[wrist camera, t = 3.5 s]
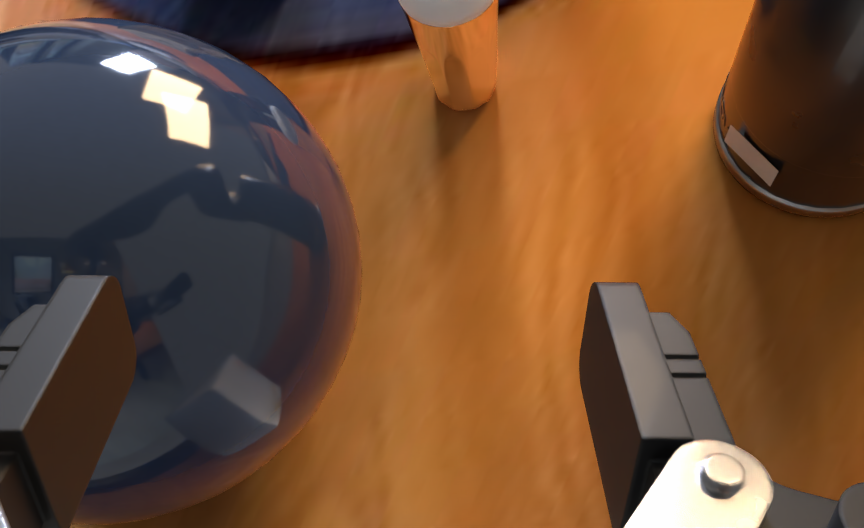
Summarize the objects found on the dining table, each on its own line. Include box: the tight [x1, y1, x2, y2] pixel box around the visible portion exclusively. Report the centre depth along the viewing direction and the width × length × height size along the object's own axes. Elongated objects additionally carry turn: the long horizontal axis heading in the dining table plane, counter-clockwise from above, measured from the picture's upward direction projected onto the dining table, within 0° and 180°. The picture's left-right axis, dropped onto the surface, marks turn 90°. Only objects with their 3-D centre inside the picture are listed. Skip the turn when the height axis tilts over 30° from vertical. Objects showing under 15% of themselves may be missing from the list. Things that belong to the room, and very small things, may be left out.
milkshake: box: [398, 0, 499, 110], centre depth 38 cm, size 4×5×10 cm
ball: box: [0, 17, 362, 525], centre depth 31 cm, size 18×18×19 cm
